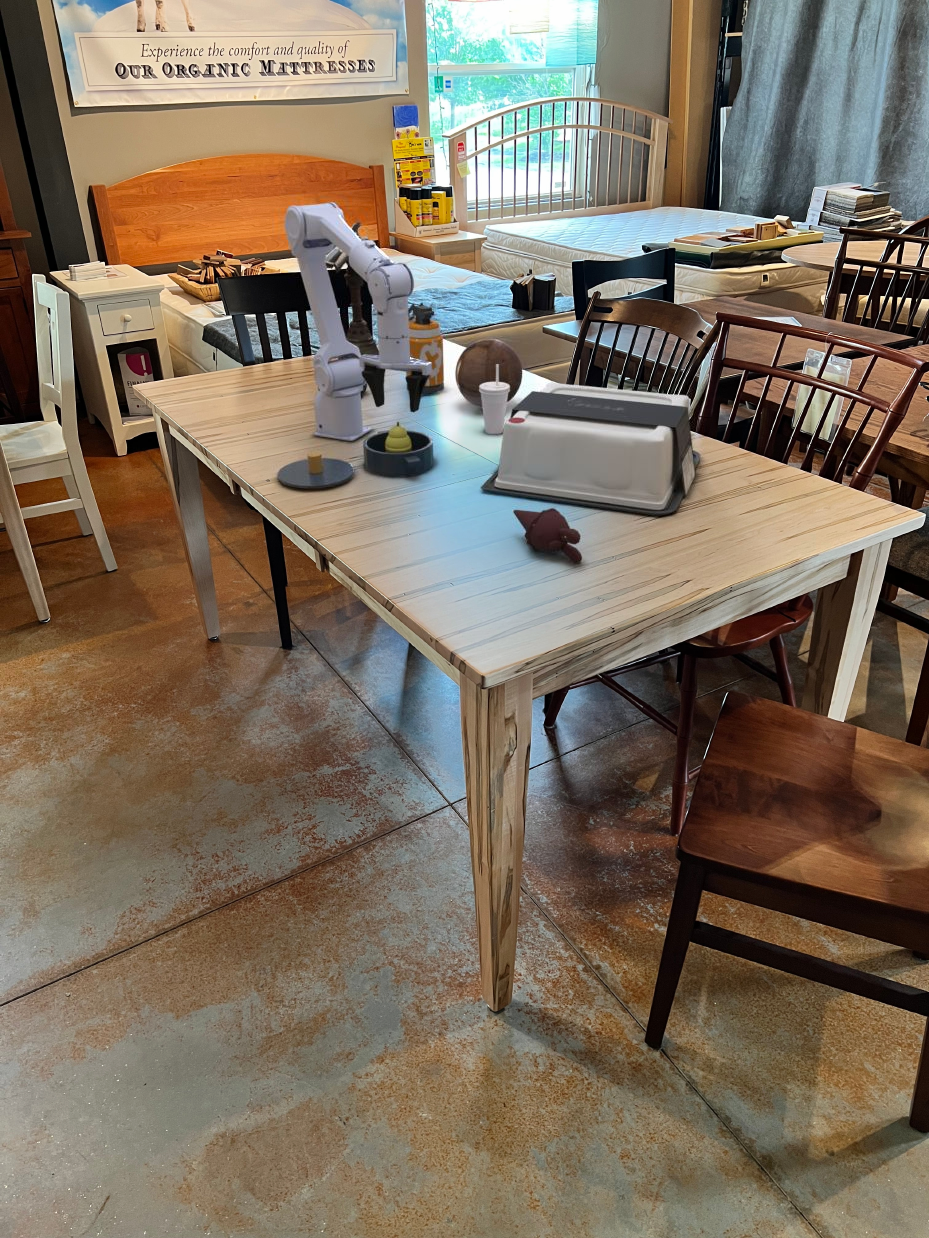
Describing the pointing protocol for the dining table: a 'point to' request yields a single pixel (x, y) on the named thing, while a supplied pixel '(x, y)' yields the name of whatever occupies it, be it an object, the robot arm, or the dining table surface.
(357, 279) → the dark brown tall piece
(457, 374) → the wooden sphere
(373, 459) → the pan
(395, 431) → the pear
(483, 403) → the smoothie
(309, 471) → the lid
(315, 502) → the dining table surface
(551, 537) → the icecream
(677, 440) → the cake box
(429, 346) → the canister
